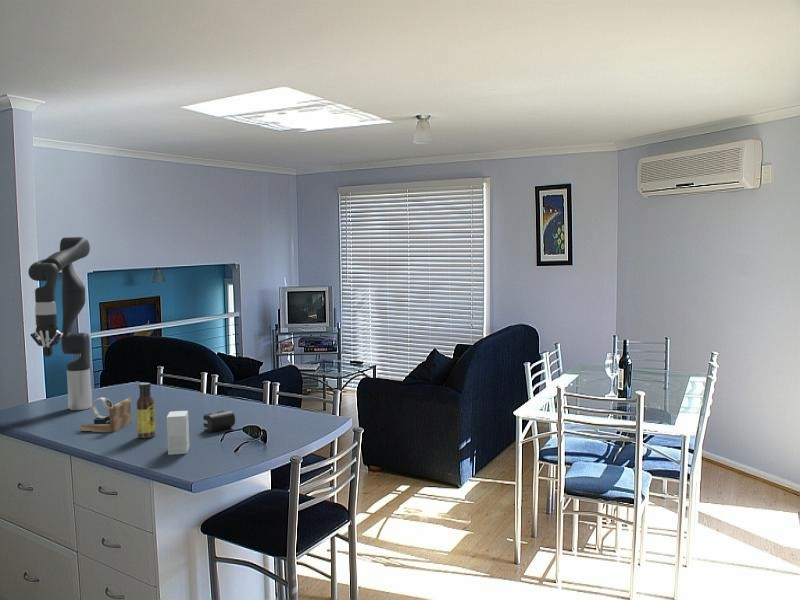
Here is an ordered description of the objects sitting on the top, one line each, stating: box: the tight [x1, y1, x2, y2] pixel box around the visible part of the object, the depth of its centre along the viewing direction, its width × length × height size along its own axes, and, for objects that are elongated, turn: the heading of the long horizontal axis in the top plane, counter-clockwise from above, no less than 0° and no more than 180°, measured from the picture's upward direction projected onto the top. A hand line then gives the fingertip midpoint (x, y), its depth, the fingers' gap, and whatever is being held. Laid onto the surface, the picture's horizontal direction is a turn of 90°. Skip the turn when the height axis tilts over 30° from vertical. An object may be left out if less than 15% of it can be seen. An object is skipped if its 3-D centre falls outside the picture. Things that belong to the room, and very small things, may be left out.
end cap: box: [202, 410, 236, 433], centre depth 256 cm, size 10×7×7 cm
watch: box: [90, 396, 114, 424], centre depth 265 cm, size 6×8×11 cm
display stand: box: [80, 397, 133, 433], centre depth 262 cm, size 14×14×10 cm
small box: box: [165, 410, 190, 456], centre depth 230 cm, size 8×6×13 cm
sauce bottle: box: [136, 382, 156, 439], centre depth 247 cm, size 6×6×20 cm
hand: (48, 356), depth 268 cm, fingers closed
